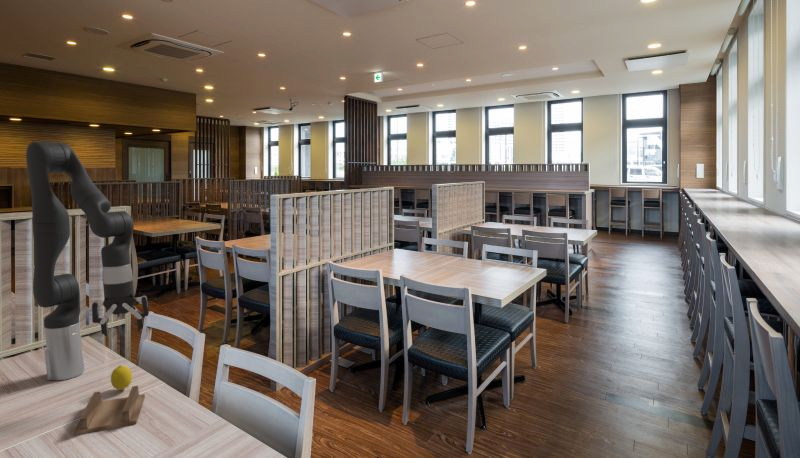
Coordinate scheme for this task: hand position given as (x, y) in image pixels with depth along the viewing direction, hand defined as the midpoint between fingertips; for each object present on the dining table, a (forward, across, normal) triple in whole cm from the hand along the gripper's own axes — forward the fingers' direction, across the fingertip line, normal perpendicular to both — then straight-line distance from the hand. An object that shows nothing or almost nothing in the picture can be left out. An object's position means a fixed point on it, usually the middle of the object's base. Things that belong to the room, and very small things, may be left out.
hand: (123, 332), depth 137 cm
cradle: (+19, +3, +13) cm, 23 cm away
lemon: (+19, +2, -2) cm, 19 cm away
